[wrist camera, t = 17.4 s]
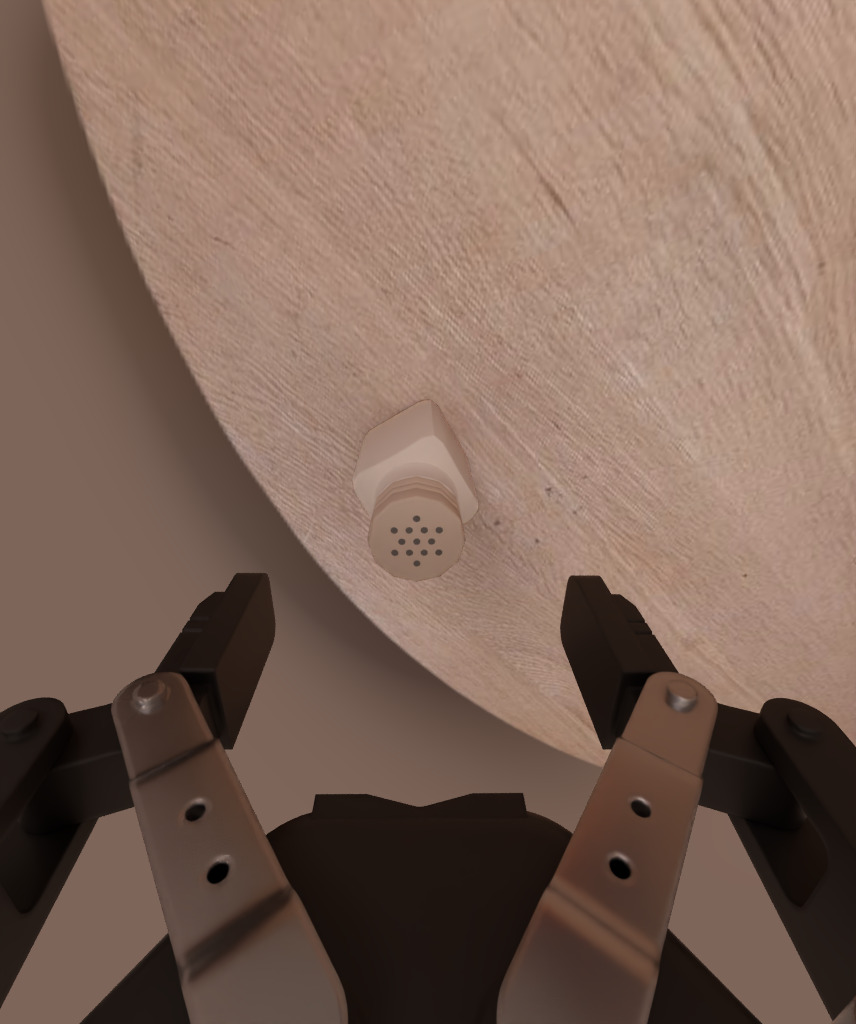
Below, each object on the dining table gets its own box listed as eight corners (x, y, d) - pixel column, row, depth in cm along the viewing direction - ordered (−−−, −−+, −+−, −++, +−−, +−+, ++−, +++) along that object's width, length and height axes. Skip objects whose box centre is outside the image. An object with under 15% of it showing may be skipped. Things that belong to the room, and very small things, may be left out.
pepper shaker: (431, 391, 24) (440, 463, 15) (470, 460, 25) (498, 560, 17) (360, 432, 24) (330, 522, 16) (402, 496, 26) (396, 609, 17)
